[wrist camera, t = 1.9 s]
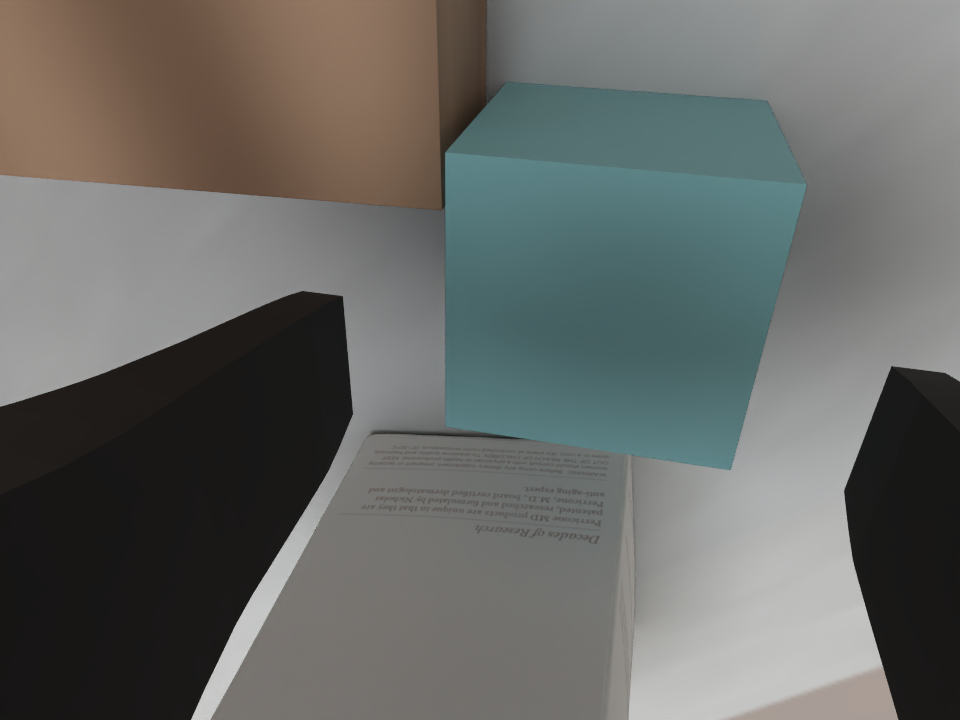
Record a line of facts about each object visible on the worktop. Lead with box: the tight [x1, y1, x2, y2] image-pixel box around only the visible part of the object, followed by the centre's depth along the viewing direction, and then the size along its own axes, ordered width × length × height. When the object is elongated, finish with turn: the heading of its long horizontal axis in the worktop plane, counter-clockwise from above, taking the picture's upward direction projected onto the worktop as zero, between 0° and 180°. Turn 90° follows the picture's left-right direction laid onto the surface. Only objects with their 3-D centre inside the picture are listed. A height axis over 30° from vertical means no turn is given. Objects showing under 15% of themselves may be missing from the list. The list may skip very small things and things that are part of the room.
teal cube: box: [445, 82, 807, 470], centre depth 14 cm, size 5×5×5 cm
